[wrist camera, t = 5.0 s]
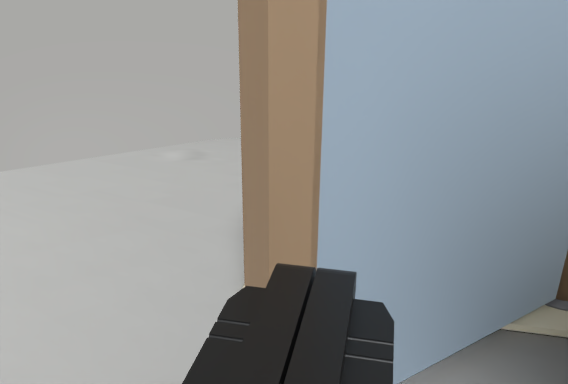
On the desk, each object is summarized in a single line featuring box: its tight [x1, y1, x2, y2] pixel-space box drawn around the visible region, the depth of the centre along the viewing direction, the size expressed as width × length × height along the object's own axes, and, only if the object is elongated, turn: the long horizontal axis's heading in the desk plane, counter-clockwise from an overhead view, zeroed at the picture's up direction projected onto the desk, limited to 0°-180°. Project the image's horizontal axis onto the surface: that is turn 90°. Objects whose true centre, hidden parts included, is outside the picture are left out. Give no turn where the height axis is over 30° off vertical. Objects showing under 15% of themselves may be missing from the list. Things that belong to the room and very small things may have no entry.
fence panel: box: [238, 0, 568, 384], centre depth 15 cm, size 14×1×14 cm, turn 123°
